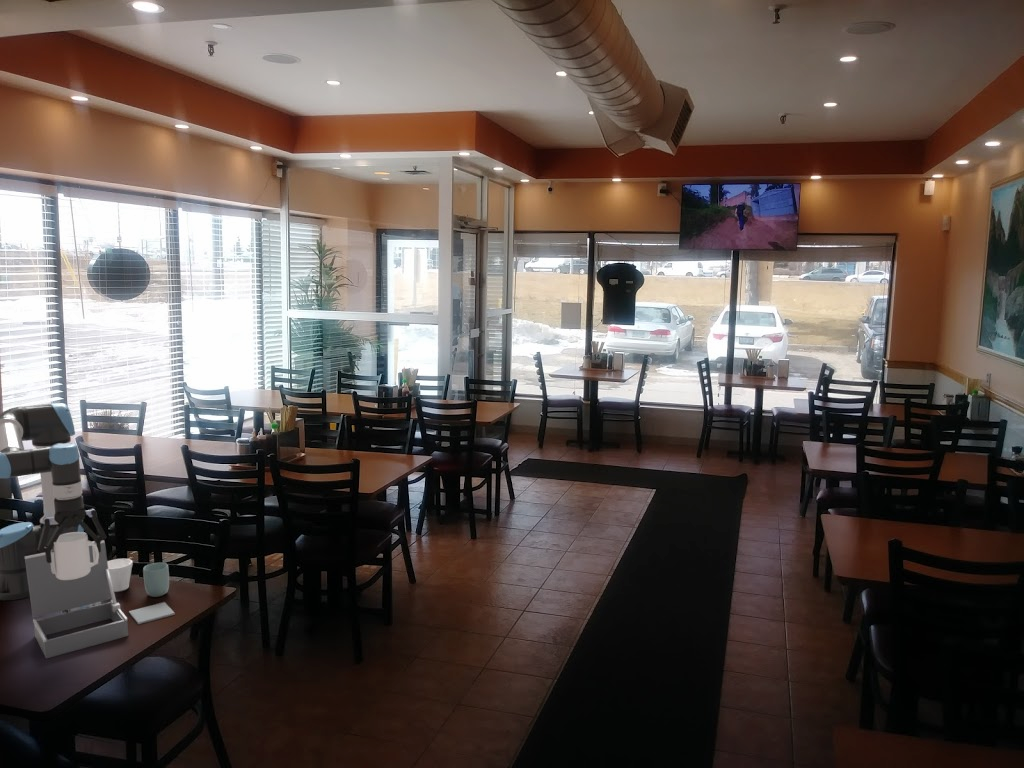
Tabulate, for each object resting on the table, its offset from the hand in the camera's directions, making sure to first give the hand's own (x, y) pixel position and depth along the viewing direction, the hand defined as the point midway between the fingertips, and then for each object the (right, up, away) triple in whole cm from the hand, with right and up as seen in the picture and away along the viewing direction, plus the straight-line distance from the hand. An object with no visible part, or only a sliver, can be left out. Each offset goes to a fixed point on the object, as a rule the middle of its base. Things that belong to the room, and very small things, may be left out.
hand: (75, 567), depth 243 cm
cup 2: (+10, -17, +34) cm, 39 cm away
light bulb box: (-9, -19, +21) cm, 30 cm away
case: (0, -21, +3) cm, 22 cm away
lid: (-7, -5, +9) cm, 12 cm away
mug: (0, -2, +1) cm, 2 cm away
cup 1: (-6, -16, +39) cm, 43 cm away
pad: (+15, -19, +18) cm, 30 cm away
